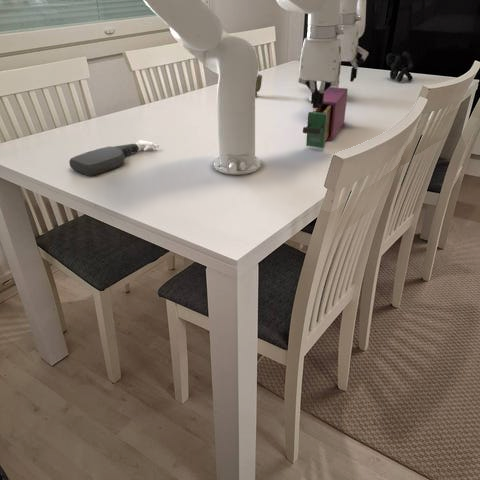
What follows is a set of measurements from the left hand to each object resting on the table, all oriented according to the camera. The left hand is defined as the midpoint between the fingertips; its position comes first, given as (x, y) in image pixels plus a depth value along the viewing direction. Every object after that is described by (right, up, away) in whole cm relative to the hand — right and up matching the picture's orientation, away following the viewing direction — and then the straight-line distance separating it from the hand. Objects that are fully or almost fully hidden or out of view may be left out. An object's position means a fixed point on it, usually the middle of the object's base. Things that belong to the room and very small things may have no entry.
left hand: (316, 106), depth 121 cm
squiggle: (+51, +36, +80) cm, 101 cm away
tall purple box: (+8, -1, +23) cm, 24 cm away
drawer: (+3, -7, +12) cm, 14 cm away
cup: (-16, +22, +60) cm, 66 cm away
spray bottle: (-55, -14, +4) cm, 57 cm away
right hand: (+10, +15, +20) cm, 27 cm away
